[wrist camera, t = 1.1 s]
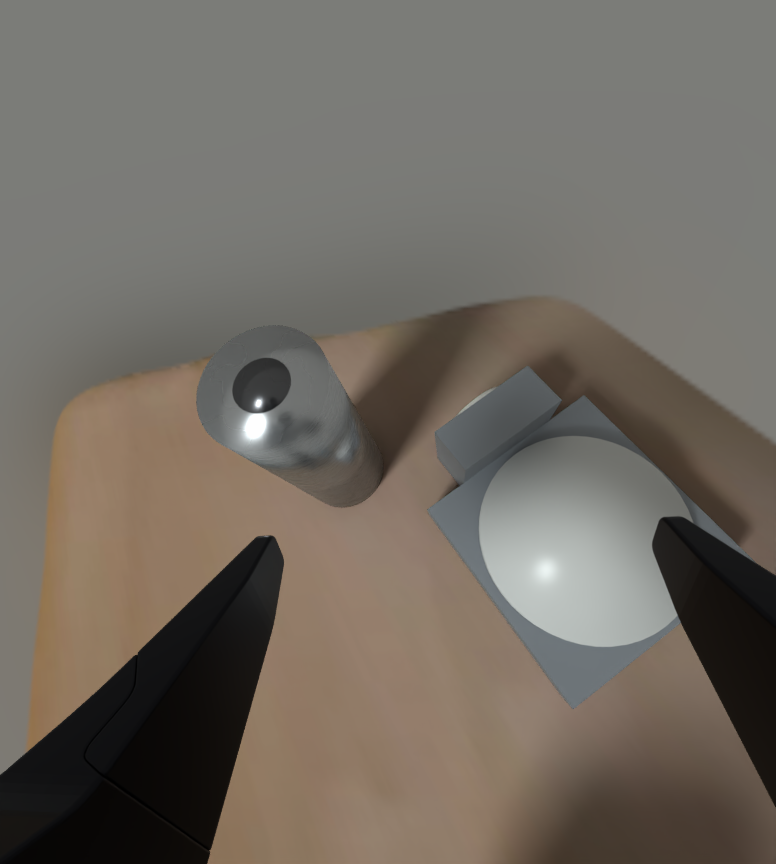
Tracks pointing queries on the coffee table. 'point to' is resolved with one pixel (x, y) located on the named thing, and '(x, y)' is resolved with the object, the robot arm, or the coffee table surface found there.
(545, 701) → the coffee table surface
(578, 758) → the coffee table surface
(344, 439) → the silver metal cylinder
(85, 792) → the robot arm
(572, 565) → the scale
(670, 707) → the coffee table surface
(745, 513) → the coffee table surface
